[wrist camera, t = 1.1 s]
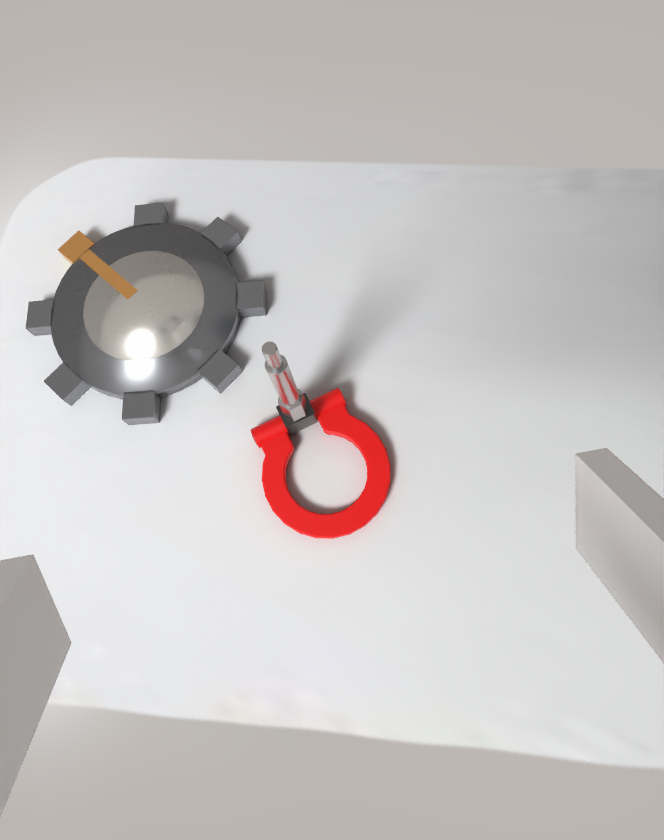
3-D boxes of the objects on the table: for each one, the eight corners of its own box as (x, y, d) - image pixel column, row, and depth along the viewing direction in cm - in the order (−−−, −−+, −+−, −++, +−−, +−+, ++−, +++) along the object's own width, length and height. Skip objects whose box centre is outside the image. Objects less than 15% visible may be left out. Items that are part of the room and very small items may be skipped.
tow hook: (412, 504, 41) (350, 384, 44) (427, 461, 29) (339, 299, 31) (296, 561, 41) (240, 437, 43) (260, 543, 28) (185, 371, 31)
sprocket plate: (264, 202, 49) (260, 192, 48) (268, 414, 43) (264, 407, 42) (47, 224, 50) (38, 214, 49) (23, 433, 45) (13, 427, 43)
